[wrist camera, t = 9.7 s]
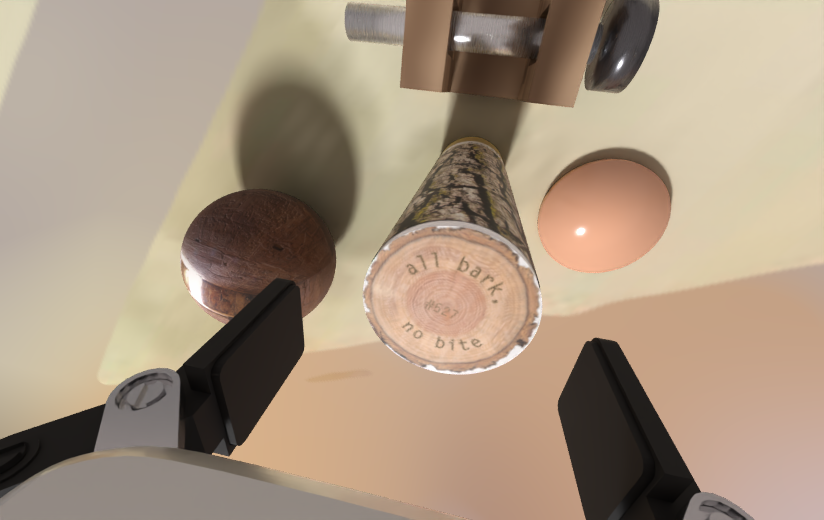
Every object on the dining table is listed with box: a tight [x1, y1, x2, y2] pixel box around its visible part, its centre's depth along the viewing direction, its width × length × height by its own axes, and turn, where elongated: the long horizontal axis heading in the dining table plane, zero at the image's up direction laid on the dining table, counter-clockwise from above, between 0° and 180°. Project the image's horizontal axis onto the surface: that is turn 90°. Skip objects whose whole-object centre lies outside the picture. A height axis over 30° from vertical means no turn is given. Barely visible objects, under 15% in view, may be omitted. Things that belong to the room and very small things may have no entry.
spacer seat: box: [537, 159, 671, 273], centre depth 33 cm, size 12×12×1 cm
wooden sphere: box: [180, 189, 336, 324], centre depth 35 cm, size 15×15×15 cm
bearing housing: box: [400, 0, 606, 107], centre depth 25 cm, size 14×8×9 cm, turn 84°
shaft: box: [345, 0, 659, 93], centre depth 24 cm, size 20×6×6 cm, turn 84°
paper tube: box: [363, 137, 542, 374], centre depth 23 cm, size 7×7×25 cm
